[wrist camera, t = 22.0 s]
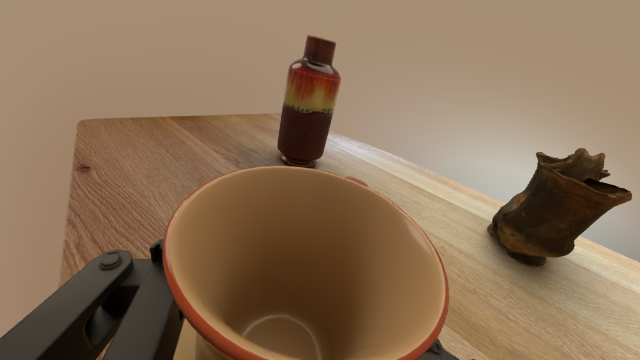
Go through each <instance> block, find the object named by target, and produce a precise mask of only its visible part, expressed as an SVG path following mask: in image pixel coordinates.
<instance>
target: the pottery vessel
mask: <svg viewBox="0 0 640 360" xmlns="http://www.w3.org/2000/svg"><path fill="white" fill-rule="evenodd" d="M536 156H537V158H538V163H537V164H538V166H537V170H536V171H535V174H534V175H533V178H532V179H531V181H530V182H529V184H528V186H527V187H526V189H525V190H524V191H523V192H521V193H520V194H517V195H516V196H514V197H513V198H512V199H511V200H510V201H509V202H508V203H507V204H506V205H504V206H502V207H501V209H500V210H499V211H498V212H497V213H496V214H495V216H494V217H493V220H492V224H490V225H489V226H488V228H487V229H488V230H487V231H490V232H492V233H493V234H494V237H495V238H496V239H497V240H498V242H499V244H500V245H501V246H505V247H507V249H508V251H507V252H508V253H509V255H510V256H511V257H512V256H515V257H516V259H519V260H520V261H523V262H524V263H526V264H528V265H532V266H542V265H544V264H545V263H546V257H562V256H565V255H567V254H569V253H570V252H571V251H573V249H574V246H575V245H574V240H575V239H576V238H577V237H578V236H579V235H580V234H582V233H583V232H584V231H585V230H586V229H587V228H588V227H590V225H592V224H593V223H594V222H595V221H596V220H598V218H600V217H601V216H602V215H603V214H605V213H606V212H607V211H608V210H610V209H612V208H613V207H615V206H617V205H620V204H623V203H625V202H627V201H630V200H631V199H632V194H631V192H630V191H628V190H626V189H624V188H619V187H617V186H614V185H611V184H607V183H603V182H599V180H601V179H602V178H605V177H607V176H610V173H608V170H602V169H603V168H604V167H603V166H604V158H605V154H604V153H600V154H597V155H595V156H590V155H589V153H588V151H586V150H585V149H584V148H579V149H578V150H576V151H575V154H572V155H569V156H568V157H567V158H564V159H558V158H553V157H550V156H547V155H544V154H543V153H542V152H537V153H536Z"/></svg>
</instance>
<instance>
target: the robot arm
mask: <svg viewBox="0 0 640 360" xmlns="http://www.w3.org/2000/svg"><path fill="white" fill-rule="evenodd" d="M163 242H164V239H161V240H159V241H157V242H156V243H154V244H153V245H152V246H151V247H150V253H151V259H133V258H132V255H131V254H130V252H128V251H125V250H113V251H108V252H106V253H103V254H101V255H99V256H98V257H96V258H95V259H93V260H92V261H91V262H90V263H89V264H87V265H86V266H85V267H84V268H83V269H81V270H80V271H79V272H78V273H77V274H76V275H74V276H73V277H72V278H71V279H70V280H69V281H67V282H66V283H65V284H64V285H63V286H61V287H60V288H59V289H58V290H57V291H56V292H54V293H53V294H52V295H51V296H50V297H48V298H47V299H46V300H45V301H44V302H43V303H41V304H40V305H39V306H38V307H37V308H35V309H34V310H33V311H32V312H31V313H30V314H29V315H27V316H26V317H25V318H24V319H23V320H22V321H20V322H19V323H18V324H17V325H16V326H14V327H13V328H12V329H11V330H10V331H8V332H7V333H6V334H5V335H4V336H3V337H1V338H0V360H96V358H97V357H98V356H99V355H100V353H101V352H102V351H103V349H104V348H105V347H106V346H107V344H108V343H109V342H110V341H111V339H112V338H113V339H112V341H111V343H110V345H109V347H108V349H107V351H106V353H105V355H104V357H103V359H102V360H173V357H174V354H175V351H176V347H177V344H178V340H179V337H180V334H181V330H182V327H183V323H184V320H185V317H184V315H183V314H182V312H181V311H180V310H179V308H178V306H177V304H176V302H175V300H174V298H173V296H172V294H171V292H170V290H169V287H168V283H167V280H166V277H165V273H164V267H163ZM418 360H459V359H458V358H456V357H455V356H453V355H452V354H450V353H449V352H447V351H446V350H445V349H443V348H442V345H441V343H440V341H439V339H438V338H437V339H436V340H435V342H434V343H433V344H432V346H431V347H430V348H429V349H428V350H427V351H426V352H425V353H424V354H423V355H422V356H421V357H420V358H419V359H418ZM472 360H474V359H472Z"/></svg>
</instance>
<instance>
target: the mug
mask: <svg viewBox="0 0 640 360" xmlns="http://www.w3.org/2000/svg"><path fill="white" fill-rule="evenodd" d="M163 267H164V273H165V277H166V280H167V283H168V287H169V290H170V292H171V294H172V296H173V298H174V300H175V302H176V304H177V306H178V308H179V310H180V311H181V312H182V314H183V315H184V317H185V318H186V319H187V321H188V322H189V324H190V325H191V326H192V327H193V329H194V330H195V331H196V332H197V333H196V346H195V360H418V359H419V358H420V357H421V356H422V355H423V354H424V353H425V352H426V351H427V350H428V349H429V348H430V347H431V346H432V344H433V343H434V342H435V340H436V339H437V337H438V336H439V334H440V332H441V329H442V327H443V325H444V323H445V319H446V316H447V312H448V305H449V286H448V280H447V276H446V272H445V269H444V266H443V263H442V261H441V259H440V256H439V254H438V252H437V251H436V249H435V247H434V245H433V244H432V242H431V241H430V239H429V238H428V237H427V235H426V234H425V233H424V231H423V230H422V229H421V228H420V227H419V226H418V225H417V224H416V222H415V221H414V220H413V219H412V218H411V217H409V216H408V215H407V214H406V213H405V212H404V211H403V210H401V209H400V208H399V207H398V206H397V205H395V204H394V203H393V202H391V201H390V200H389V199H387V198H386V197H384V196H383V195H381V194H379V193H377V192H376V191H374V190H372V189H370V188H368V185H367V184H366V183H364V182H363V181H361V180H358V179H356V178H353V177H345V178H344V177H341V176H338V175H335V174H332V173H329V172H326V171H322V170H317V169H311V168H303V167H294V166H261V167H252V168H247V169H242V170H237V171H234V172H230V173H227V174H224V175H222V176H219V177H217V178H215V179H213V180H211V181H209V182H207V183H205V184H204V185H202V186H200V187H199V188H198V189H196V190H195V191H194V192H192V193H191V194H190V195H189V196H188V197H187V198H186V199H185V200H184V201H183V202H182V203H181V204H180V205H179V207H178V208H177V210H176V211H175V212H174V214H173V216H172V218H171V220H170V222H169V224H168V227H167V230H166V233H165V236H164V242H163Z"/></svg>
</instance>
